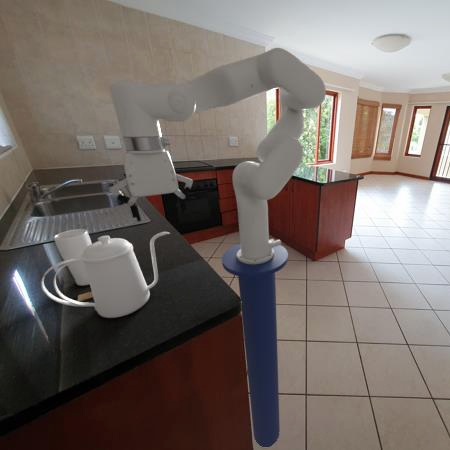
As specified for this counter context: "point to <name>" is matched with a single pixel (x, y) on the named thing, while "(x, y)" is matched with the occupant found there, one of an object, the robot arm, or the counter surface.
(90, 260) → the coffeepot
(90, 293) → the marker strip
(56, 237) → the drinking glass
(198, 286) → the counter surface
